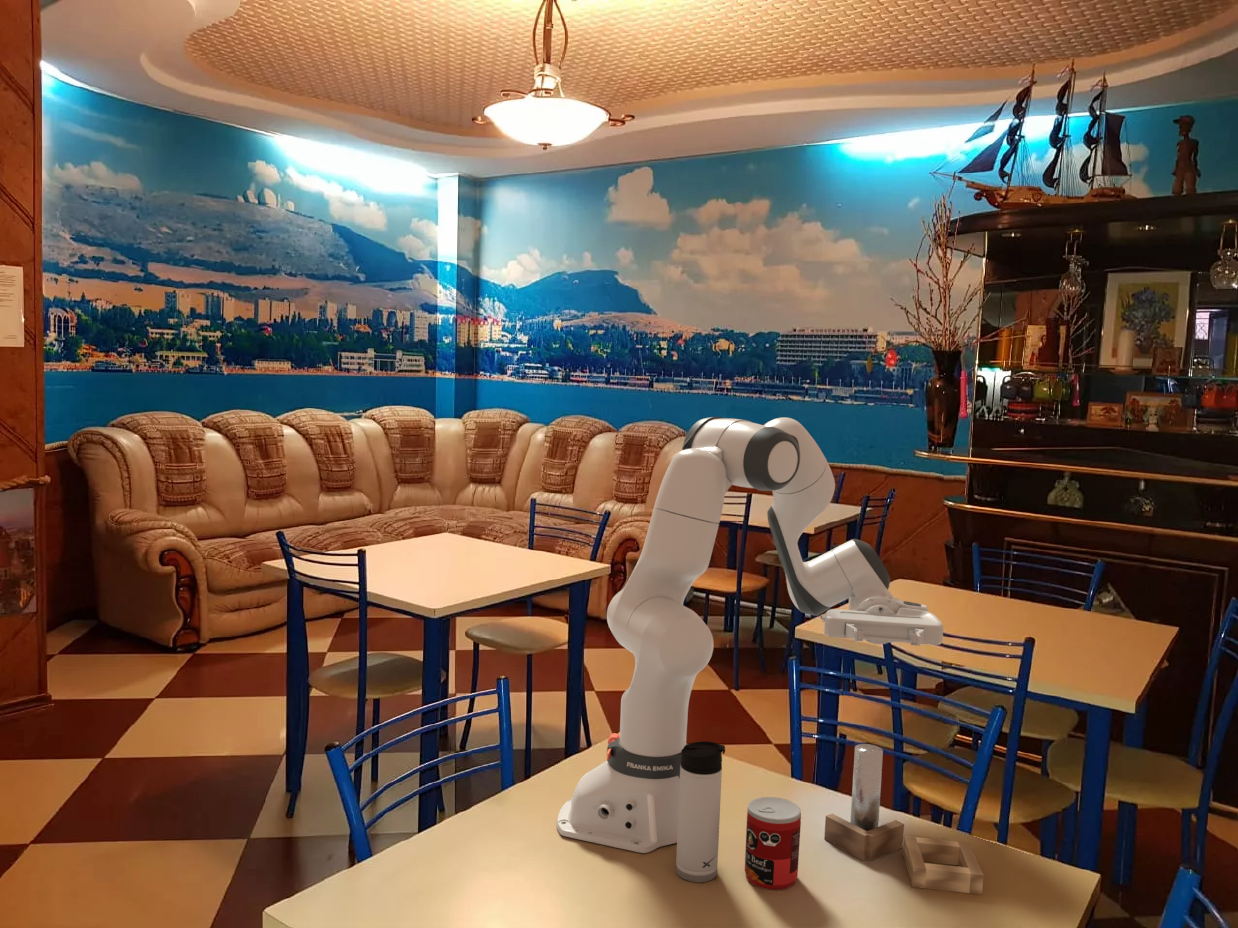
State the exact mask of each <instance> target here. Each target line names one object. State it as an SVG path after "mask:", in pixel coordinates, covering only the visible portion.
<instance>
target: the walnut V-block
mask: <svg viewBox="0 0 1238 928" xmlns="http://www.w3.org/2000/svg"><path fill="white" fill-rule="evenodd" d="M850 822H851V821H848V820H846V819H845V818H842V817H840V816H839V815H836V814H834V813H829V814H826V815H825V822H824V840H825V841H827V842H829V843H831V844H833V845H835V846H836V847H838V848H840V849H841V850H844V851H845V852H848V853H849V854H851V855H852V856H854V857H856V858H859V860H862V861H865V860H868V861H870V862H871V861H874V860H876V859H879V858H881V857H883V856H886V855H889V854H891V853H892V852H896V851H897V850H900V849H903V845H904V829H905V823H903V822H901V821H900V820H897V819H895V820H893V821H890V822H887V823H885V824H882V825H880V826H879V825H878V827H877V828H874V829H872V830H869V831H866V830H864V829H862V828H860V827H858V826H856V825H854V824H852V823H850Z"/></svg>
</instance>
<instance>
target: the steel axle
mask: <svg viewBox="0 0 1238 928" xmlns="http://www.w3.org/2000/svg"><path fill="white" fill-rule="evenodd" d="M883 753H884V749H883V748H881V747H879V746H878V745H875V744H870V743H859V744H857V745H855V746H854V756H853V757H854V759H853V772H852V773H853V774H852V792H851V807H850V821H849V822H850V823H852V824H854V825H856V826H858V827H860V828H862V829H864V830H866V831H869V830H872V829H874V828H877V827H879V820H880V808H881V807H880V806H881V805H880V804H881V791H882V790H881V787H882V773H883V771H882V769H883V755H884V754H883Z"/></svg>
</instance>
